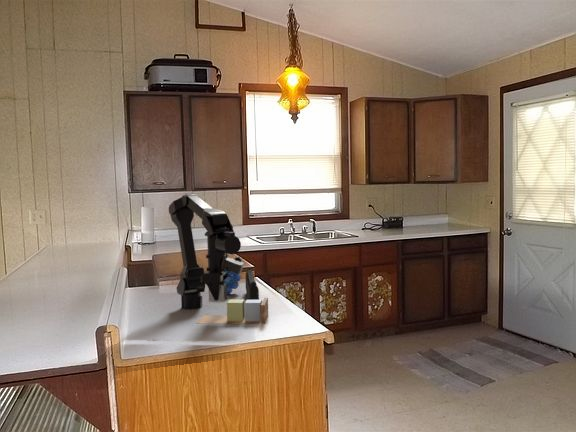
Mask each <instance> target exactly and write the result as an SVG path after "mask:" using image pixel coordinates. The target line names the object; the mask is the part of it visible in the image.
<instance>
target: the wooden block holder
mask: <svg viewBox="0 0 576 432" xmlns="http://www.w3.org/2000/svg"><path fill="white" fill-rule="evenodd" d="M268 318H269V297H263V300H262V303H261V321H245V318H244V320H243V321H227V314H226V315H225V314H224V315H223V314H220V315H218V314H213V315H212V314H203V315H202V316H201V317H200V318H199V319H198V320H197V322H196V323H195V324H200V325H201V324H204V325H205V324H207V325H209V324H211V325H212V324H214V325H215V324H216V325H217V324H218V325H222V324H223V325H226V324H227V325H231V324H232V325H243V324H244V325H266V323H267V320H268Z"/></svg>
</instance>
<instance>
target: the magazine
mask: <svg viewBox="0 0 576 432" xmlns="http://www.w3.org/2000/svg"><path fill="white" fill-rule="evenodd" d="M259 289H260V288H259V287H258V284H257V282H256V280H255V277H254V272H253V268H252V267H247V269H246V271H245V292H246V293H245V294H246V300H260V292H259V291H260V290H259Z"/></svg>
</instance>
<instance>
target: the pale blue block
mask: <svg viewBox="0 0 576 432" xmlns="http://www.w3.org/2000/svg"><path fill="white" fill-rule="evenodd" d="M262 301H263V300H262V299H259V300H248V299H246V300H245V301H244V305H245V321H261V303H262Z"/></svg>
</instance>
